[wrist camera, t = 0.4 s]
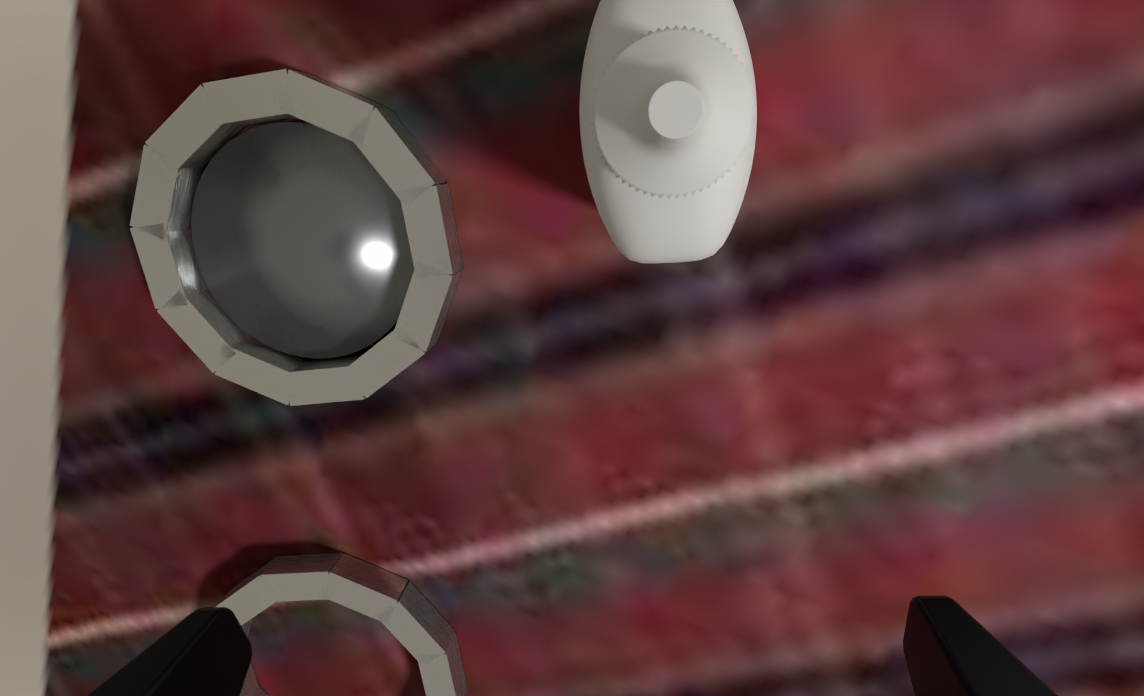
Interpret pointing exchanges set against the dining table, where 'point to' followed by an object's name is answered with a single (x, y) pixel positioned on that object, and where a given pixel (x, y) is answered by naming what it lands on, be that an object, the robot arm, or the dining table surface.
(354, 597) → the collar
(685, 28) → the eye dropper bottle
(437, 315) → the collar
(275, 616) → the dining table surface
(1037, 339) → the dining table surface
